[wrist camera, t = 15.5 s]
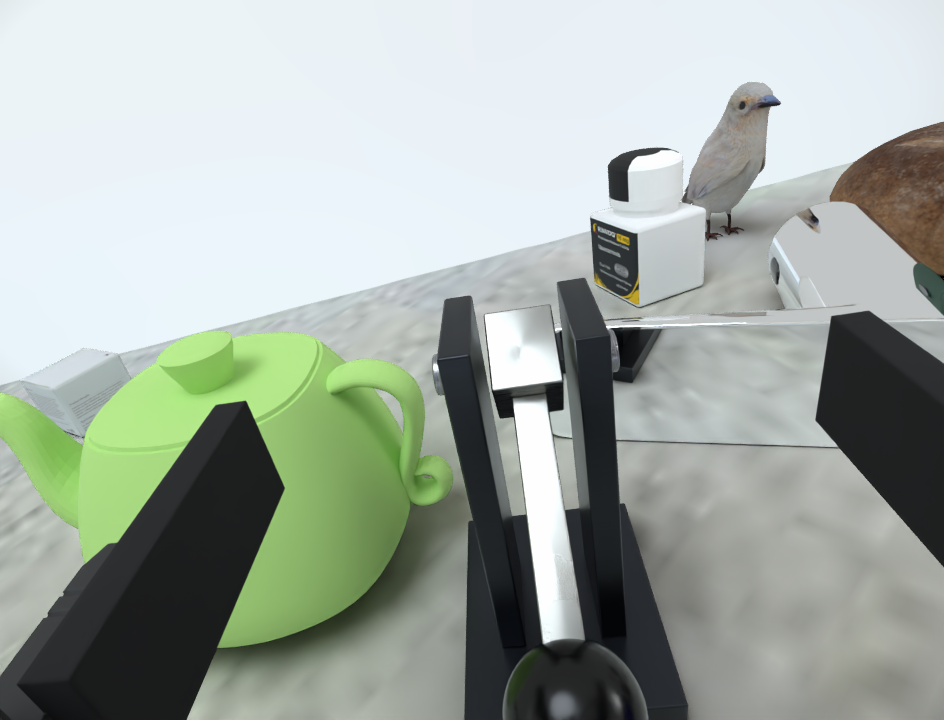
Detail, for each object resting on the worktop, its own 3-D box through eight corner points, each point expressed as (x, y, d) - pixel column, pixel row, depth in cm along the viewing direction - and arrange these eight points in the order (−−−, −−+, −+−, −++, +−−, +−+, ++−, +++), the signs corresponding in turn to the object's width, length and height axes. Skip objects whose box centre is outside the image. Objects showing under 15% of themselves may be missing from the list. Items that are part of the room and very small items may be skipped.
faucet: (895, 195, 40) (1043, 314, 25) (875, 296, 44) (993, 453, 29) (547, 224, 48) (497, 329, 33) (555, 308, 52) (515, 437, 37)
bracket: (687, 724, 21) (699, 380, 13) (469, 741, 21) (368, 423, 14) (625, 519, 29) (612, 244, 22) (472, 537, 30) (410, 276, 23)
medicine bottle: (593, 285, 55) (584, 157, 49) (654, 265, 57) (653, 139, 51) (638, 309, 49) (634, 167, 43) (705, 285, 51) (710, 146, 45)
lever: (653, 783, 15) (677, 819, 12) (516, 793, 15) (503, 831, 12) (571, 344, 21) (572, 289, 18) (475, 358, 21) (459, 306, 18)
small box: (109, 391, 53) (83, 345, 50) (145, 400, 50) (119, 352, 47) (47, 427, 49) (15, 379, 46) (83, 439, 46) (51, 388, 43)
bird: (745, 258, 55) (757, 88, 47) (665, 225, 66) (665, 85, 59) (788, 245, 56) (807, 77, 48) (702, 215, 67) (707, 76, 60)
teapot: (-16, 717, 25) (-244, 502, 19) (145, 488, 39) (42, 315, 32) (466, 660, 24) (395, 406, 18) (464, 441, 37) (423, 251, 31)
